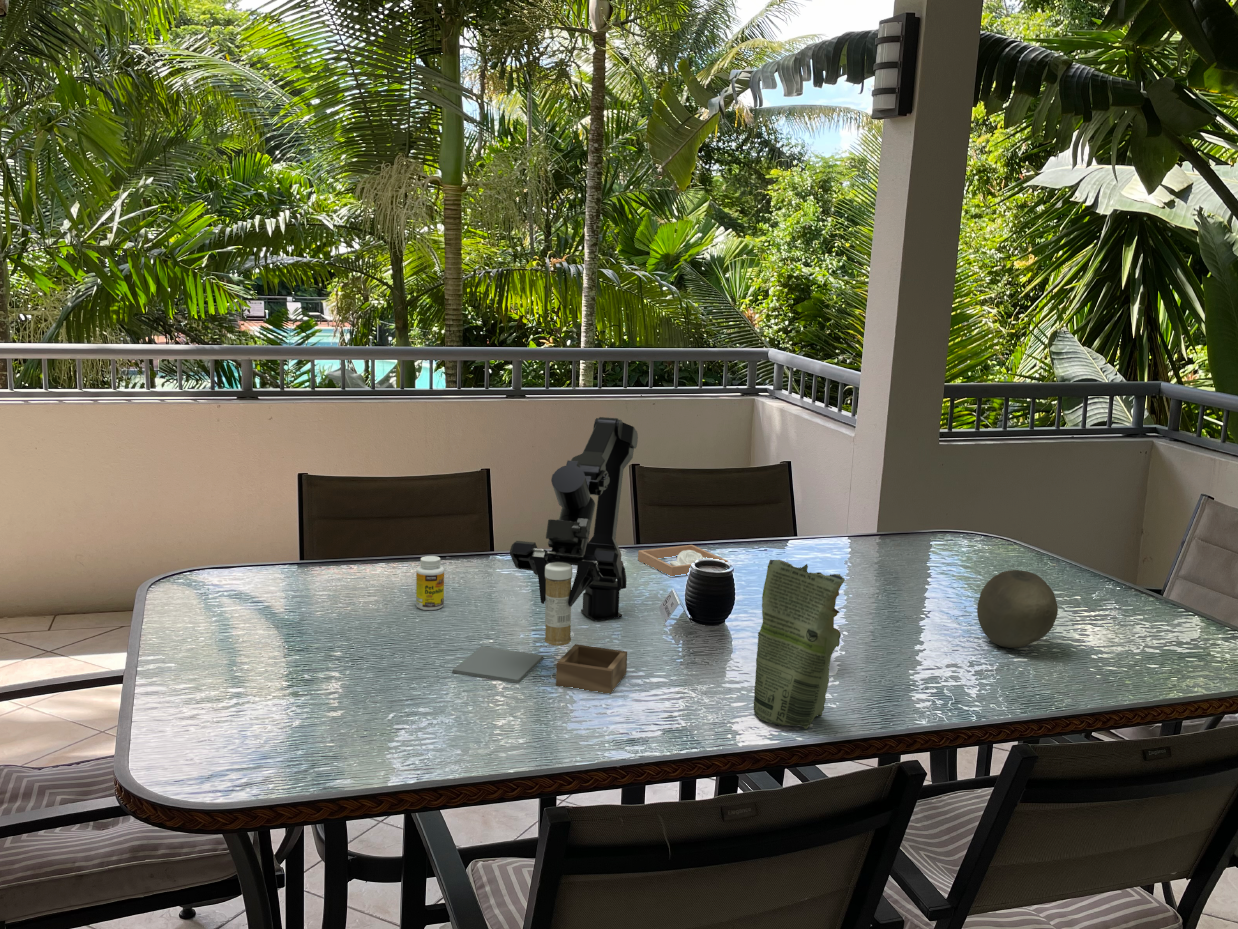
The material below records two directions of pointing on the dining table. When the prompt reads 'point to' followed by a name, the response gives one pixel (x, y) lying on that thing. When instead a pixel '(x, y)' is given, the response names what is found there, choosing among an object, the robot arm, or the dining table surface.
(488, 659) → the grey mat
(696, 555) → the rose
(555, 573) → the sprinkles bottle
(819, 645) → the pouch
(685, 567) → the wooden square frame
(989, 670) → the dining table surface
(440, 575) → the supplement bottle
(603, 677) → the walnut sleeve
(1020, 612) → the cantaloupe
